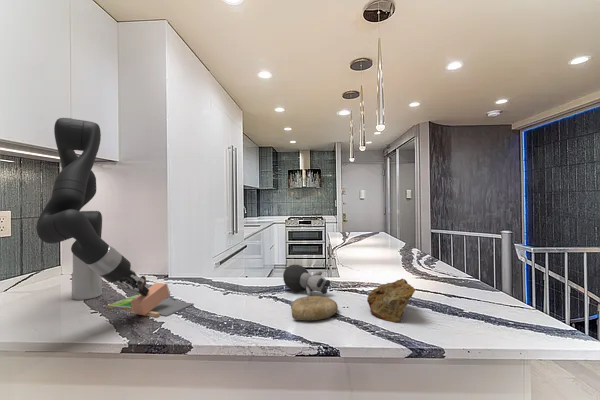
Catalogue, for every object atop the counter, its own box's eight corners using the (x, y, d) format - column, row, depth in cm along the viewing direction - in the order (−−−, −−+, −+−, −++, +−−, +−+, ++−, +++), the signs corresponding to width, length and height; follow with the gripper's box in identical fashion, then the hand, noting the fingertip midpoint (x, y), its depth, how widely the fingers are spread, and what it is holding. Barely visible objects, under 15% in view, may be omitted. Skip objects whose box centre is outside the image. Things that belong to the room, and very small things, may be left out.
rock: (375, 306, 108) (354, 290, 106) (403, 275, 107) (382, 258, 105) (397, 340, 89) (372, 322, 87) (431, 303, 88) (407, 283, 86)
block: (130, 301, 95) (157, 281, 105) (134, 313, 96) (160, 292, 106) (140, 303, 93) (166, 282, 103) (144, 315, 95) (170, 294, 104)
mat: (131, 310, 102) (131, 308, 102) (160, 299, 113) (160, 298, 113) (166, 316, 95) (166, 315, 95) (193, 304, 106) (193, 303, 106)
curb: (130, 312, 99) (130, 309, 99) (132, 311, 100) (132, 308, 100) (157, 317, 94) (157, 313, 94) (159, 316, 95) (159, 312, 95)
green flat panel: (106, 309, 105) (130, 311, 102) (106, 304, 105) (130, 307, 102) (149, 292, 124) (170, 294, 122) (149, 289, 124) (170, 290, 122)
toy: (338, 284, 121) (297, 272, 132) (329, 268, 113) (287, 256, 125) (327, 308, 115) (285, 293, 127) (317, 293, 108) (274, 279, 119)
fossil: (343, 323, 89) (342, 307, 89) (292, 325, 88) (292, 309, 88) (332, 303, 106) (332, 290, 106) (290, 305, 105) (289, 292, 105)
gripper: (133, 253, 86) (167, 284, 98) (102, 251, 92) (138, 281, 103) (116, 276, 82) (154, 306, 93) (84, 272, 87) (124, 301, 98)
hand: (146, 293), depth 98 cm, fingers closed
